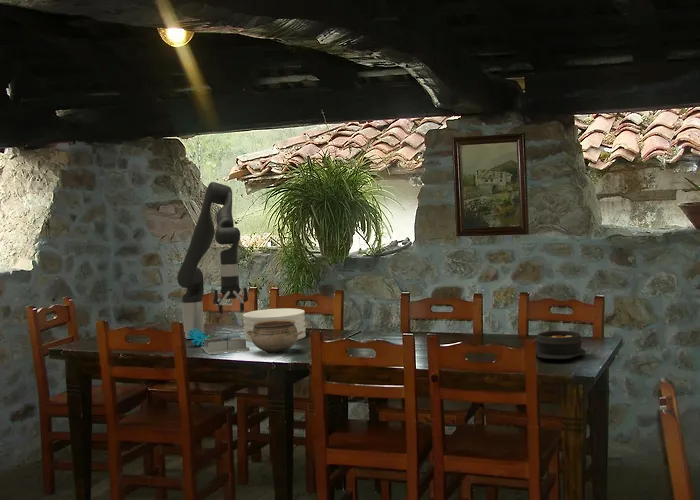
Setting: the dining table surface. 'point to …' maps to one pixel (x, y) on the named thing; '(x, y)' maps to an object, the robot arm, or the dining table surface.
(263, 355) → the dining table surface
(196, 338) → the gear
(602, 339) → the dining table surface
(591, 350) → the dining table surface
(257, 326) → the cooking pot
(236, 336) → the block
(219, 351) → the plate
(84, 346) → the dining table surface
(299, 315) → the plate stack
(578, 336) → the casserole
